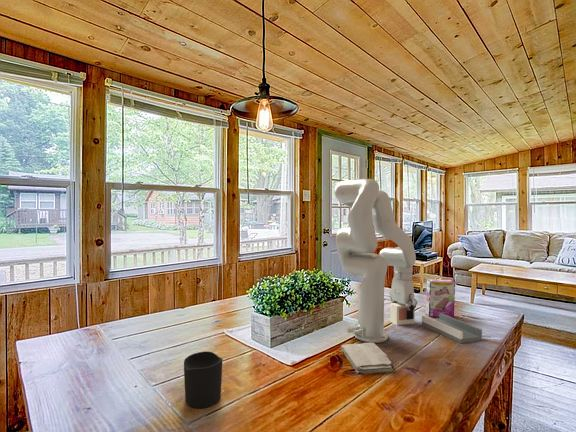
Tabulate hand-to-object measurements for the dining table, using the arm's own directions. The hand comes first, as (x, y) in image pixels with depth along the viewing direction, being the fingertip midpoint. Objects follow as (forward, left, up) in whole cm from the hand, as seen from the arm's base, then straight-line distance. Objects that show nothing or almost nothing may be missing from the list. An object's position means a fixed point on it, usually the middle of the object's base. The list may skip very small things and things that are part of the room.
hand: (402, 315), depth 140 cm
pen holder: (-85, -33, -3) cm, 91 cm away
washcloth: (-34, -26, -4) cm, 43 cm away
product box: (0, 0, -3) cm, 3 cm away
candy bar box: (+22, +2, -3) cm, 22 cm away
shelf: (+11, -15, -3) cm, 19 cm away
